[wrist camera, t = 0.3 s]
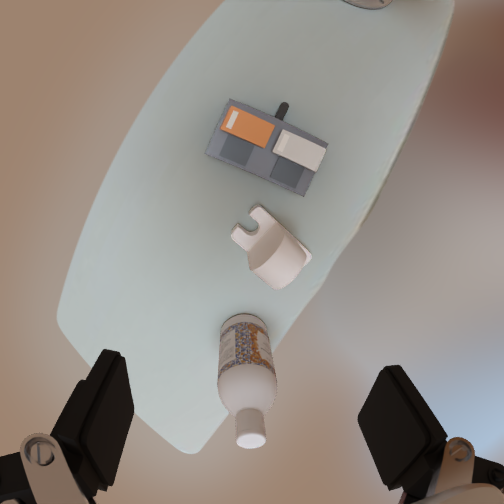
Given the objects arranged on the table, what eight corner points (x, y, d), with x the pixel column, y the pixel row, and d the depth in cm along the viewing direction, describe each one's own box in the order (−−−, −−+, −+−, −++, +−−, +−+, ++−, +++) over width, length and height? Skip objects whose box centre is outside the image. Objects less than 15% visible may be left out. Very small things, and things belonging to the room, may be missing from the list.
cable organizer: (257, 202, 37) (265, 218, 27) (310, 252, 39) (333, 282, 30) (229, 232, 38) (227, 258, 28) (283, 279, 40) (297, 316, 31)
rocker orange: (229, 106, 28) (231, 105, 27) (272, 125, 30) (275, 125, 29) (219, 129, 29) (220, 129, 28) (262, 147, 31) (264, 148, 30)
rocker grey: (283, 130, 30) (282, 129, 29) (325, 150, 30) (326, 149, 29) (273, 152, 31) (272, 151, 30) (315, 172, 31) (316, 171, 30)
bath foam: (275, 337, 43) (298, 444, 24) (236, 356, 44) (240, 463, 25) (252, 304, 41) (265, 412, 22) (211, 326, 42) (200, 435, 23)
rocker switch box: (240, 84, 32) (240, 75, 28) (328, 125, 34) (338, 121, 30) (207, 154, 34) (204, 153, 31) (297, 193, 36) (304, 197, 33)
